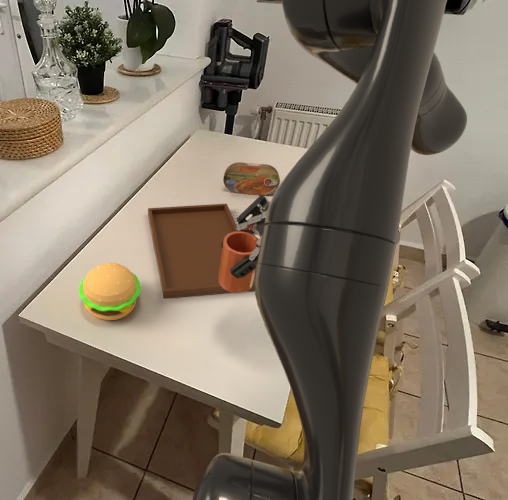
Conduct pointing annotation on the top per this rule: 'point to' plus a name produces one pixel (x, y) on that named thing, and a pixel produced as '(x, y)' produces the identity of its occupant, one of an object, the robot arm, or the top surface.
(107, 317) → the hamburger
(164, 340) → the top surface
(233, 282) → the reddish brown cup
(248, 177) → the tin
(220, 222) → the tray
